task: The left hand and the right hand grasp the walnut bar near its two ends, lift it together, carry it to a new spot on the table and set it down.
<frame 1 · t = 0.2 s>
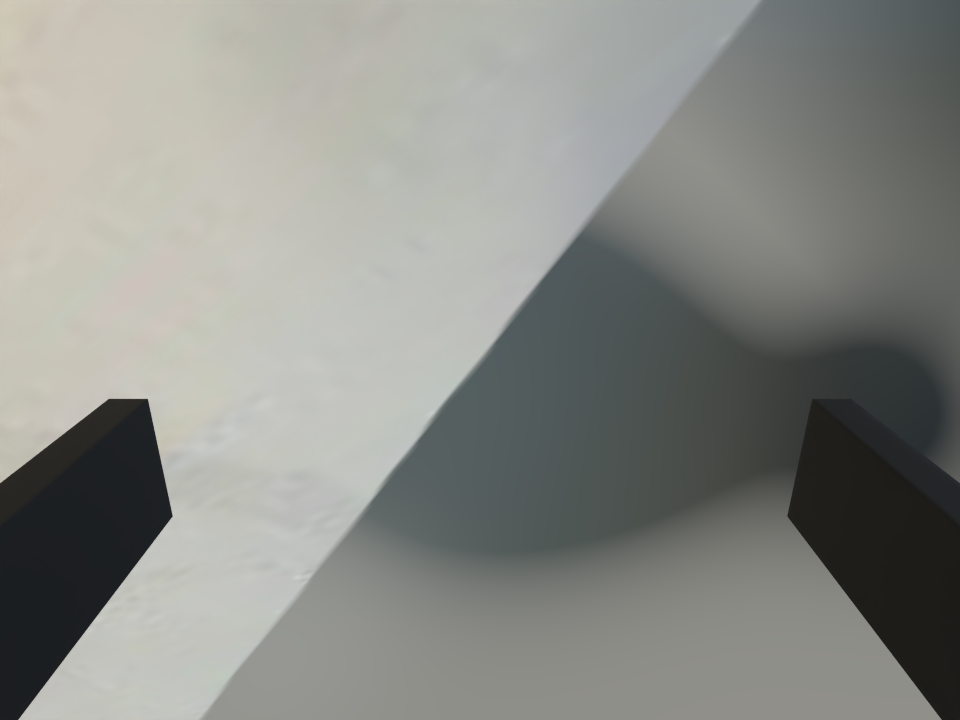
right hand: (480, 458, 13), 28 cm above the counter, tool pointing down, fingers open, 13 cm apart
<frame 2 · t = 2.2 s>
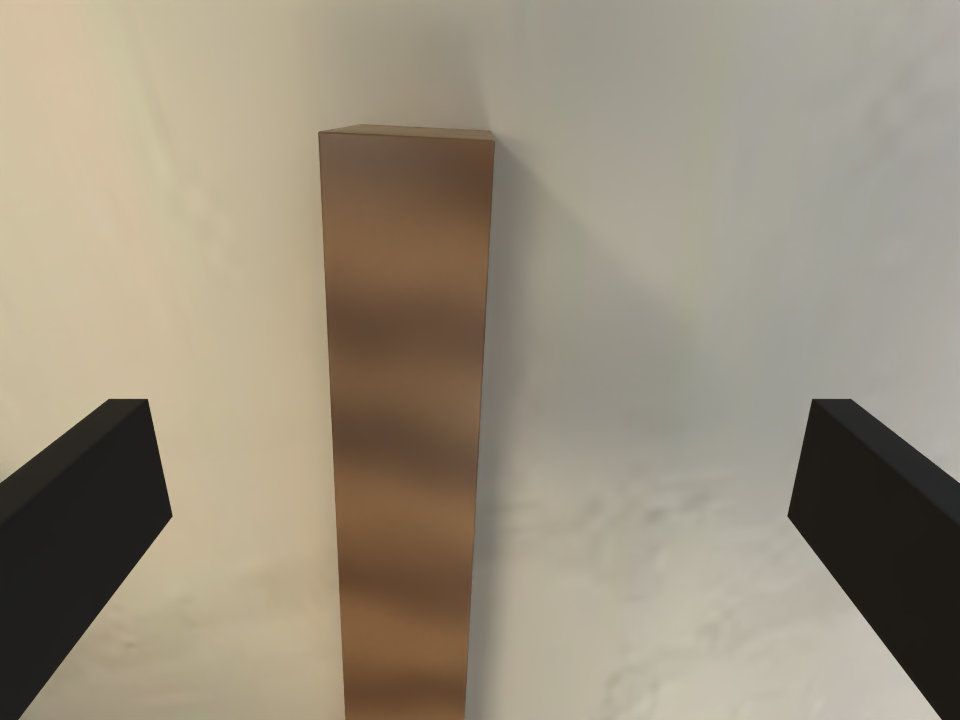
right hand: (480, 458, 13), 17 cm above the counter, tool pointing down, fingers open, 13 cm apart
bar: (418, 640, 37), on the counter
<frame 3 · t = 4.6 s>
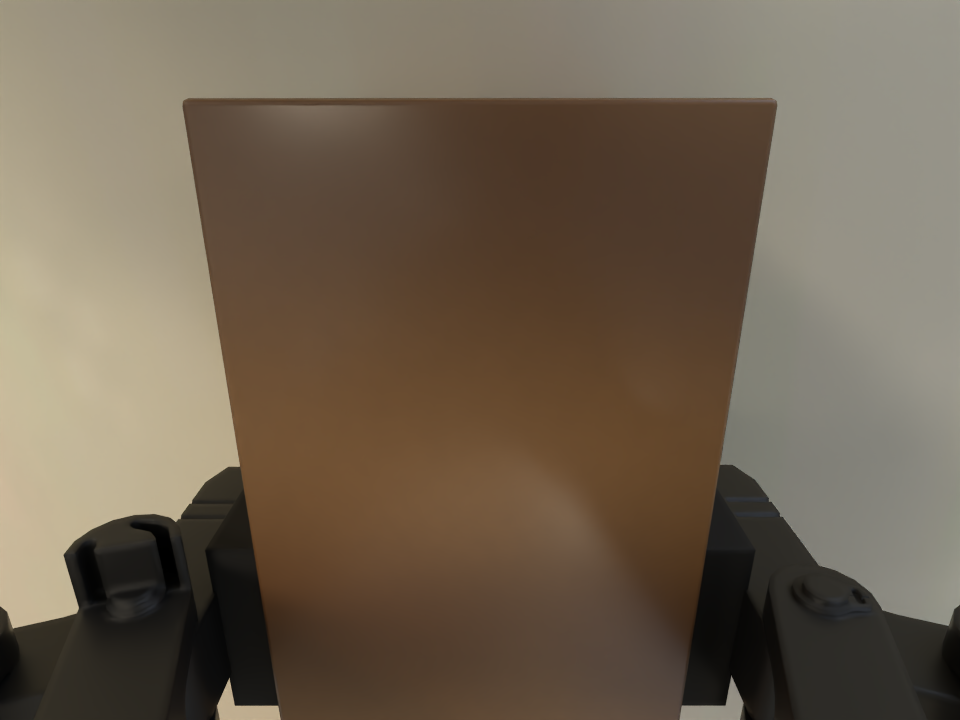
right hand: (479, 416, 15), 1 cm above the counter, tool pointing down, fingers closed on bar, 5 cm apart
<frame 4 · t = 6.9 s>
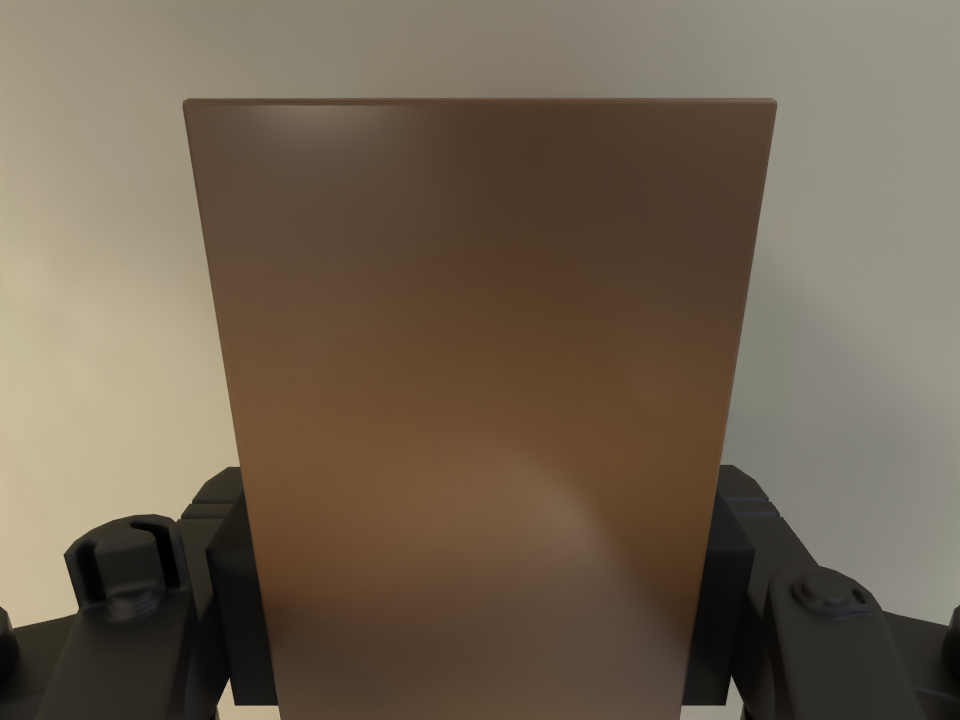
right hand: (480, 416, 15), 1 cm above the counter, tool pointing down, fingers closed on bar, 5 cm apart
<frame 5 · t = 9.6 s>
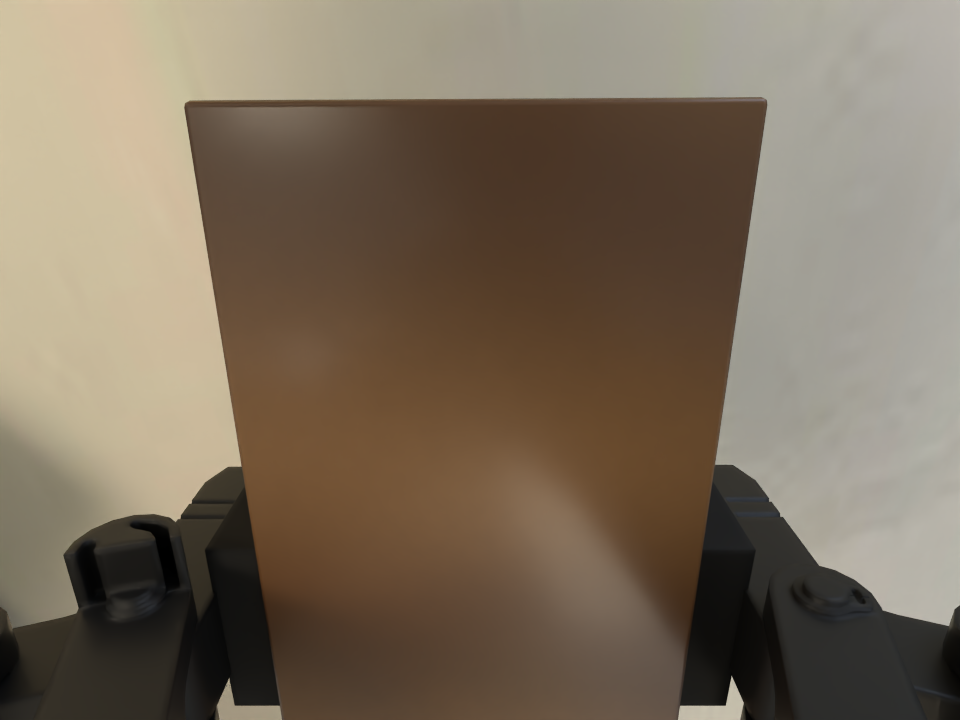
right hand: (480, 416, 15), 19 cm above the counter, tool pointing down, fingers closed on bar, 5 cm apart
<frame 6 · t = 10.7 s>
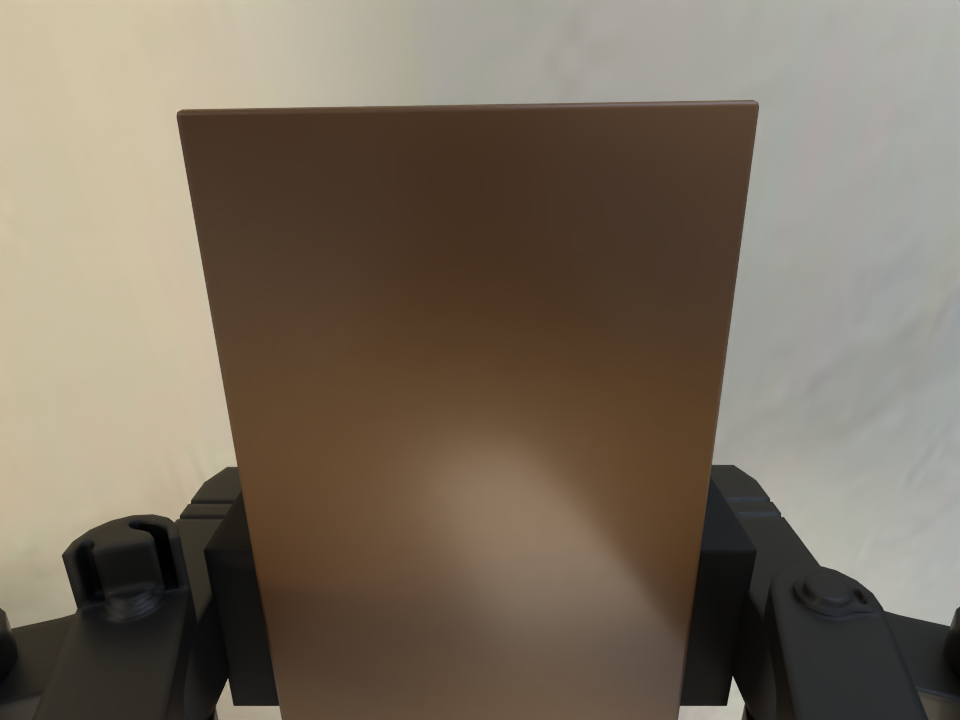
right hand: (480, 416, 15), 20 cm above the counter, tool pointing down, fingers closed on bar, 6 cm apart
when the left hand's fingers open (1 cm above the counter, at t = 14.5 s): bar stays where it is, on the counter.
when the right hand's fingers open (2 cm above the counter, at t = 14.5 s): bar stays where it is, on the counter.
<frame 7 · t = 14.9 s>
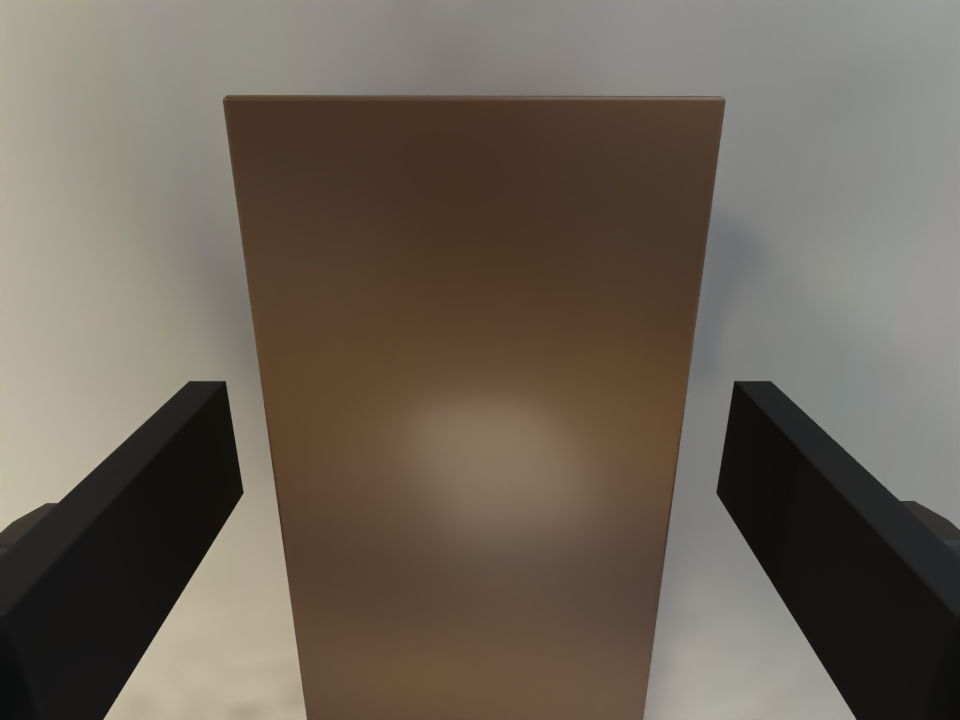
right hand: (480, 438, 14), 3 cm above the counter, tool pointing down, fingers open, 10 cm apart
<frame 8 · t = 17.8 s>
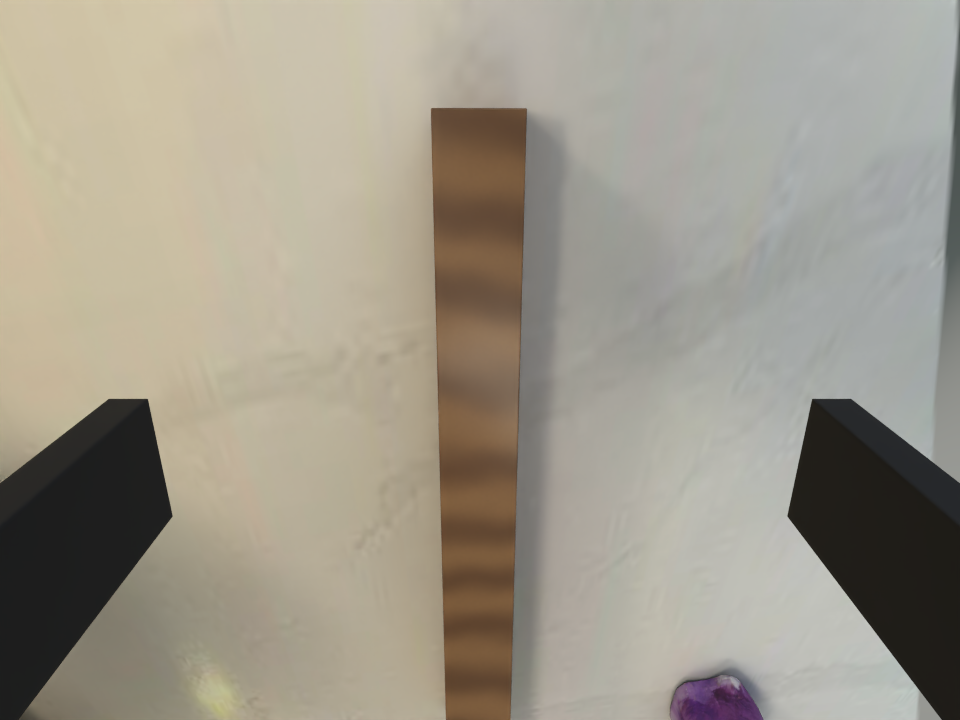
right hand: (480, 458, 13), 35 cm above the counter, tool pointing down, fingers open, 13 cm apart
bar: (478, 468, 53), on the counter
figurine: (708, 708, 64), on the counter
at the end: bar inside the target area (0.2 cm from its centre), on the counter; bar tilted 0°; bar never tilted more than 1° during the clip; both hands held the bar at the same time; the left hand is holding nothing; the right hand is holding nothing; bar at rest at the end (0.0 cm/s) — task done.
